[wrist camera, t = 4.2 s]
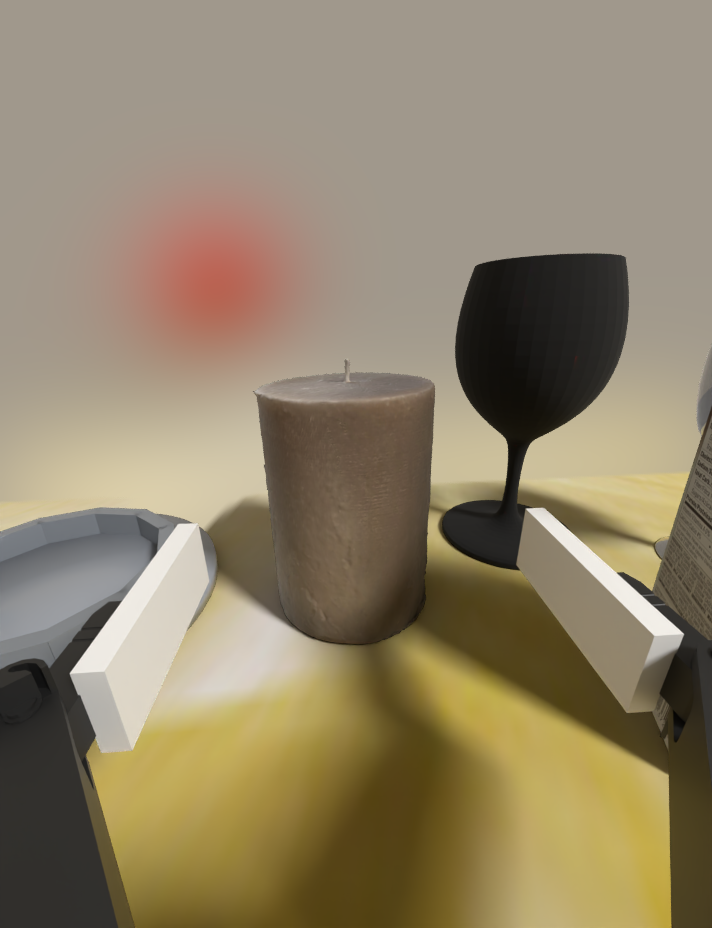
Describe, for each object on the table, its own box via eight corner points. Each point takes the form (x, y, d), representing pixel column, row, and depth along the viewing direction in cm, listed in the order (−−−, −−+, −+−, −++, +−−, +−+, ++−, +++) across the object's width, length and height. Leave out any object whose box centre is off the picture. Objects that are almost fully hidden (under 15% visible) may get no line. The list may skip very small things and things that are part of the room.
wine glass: (436, 501, 37) (452, 273, 30) (548, 505, 36) (593, 269, 29) (448, 567, 28) (476, 254, 20) (601, 575, 26) (689, 247, 19)
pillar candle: (457, 608, 24) (481, 359, 18) (311, 675, 19) (286, 375, 14) (376, 536, 32) (376, 349, 26) (260, 572, 27) (232, 357, 22)
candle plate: (-345, 747, 17) (-392, 702, 16) (48, 518, 35) (38, 491, 34) (76, 800, 14) (54, 752, 13) (257, 527, 33) (254, 498, 32)
